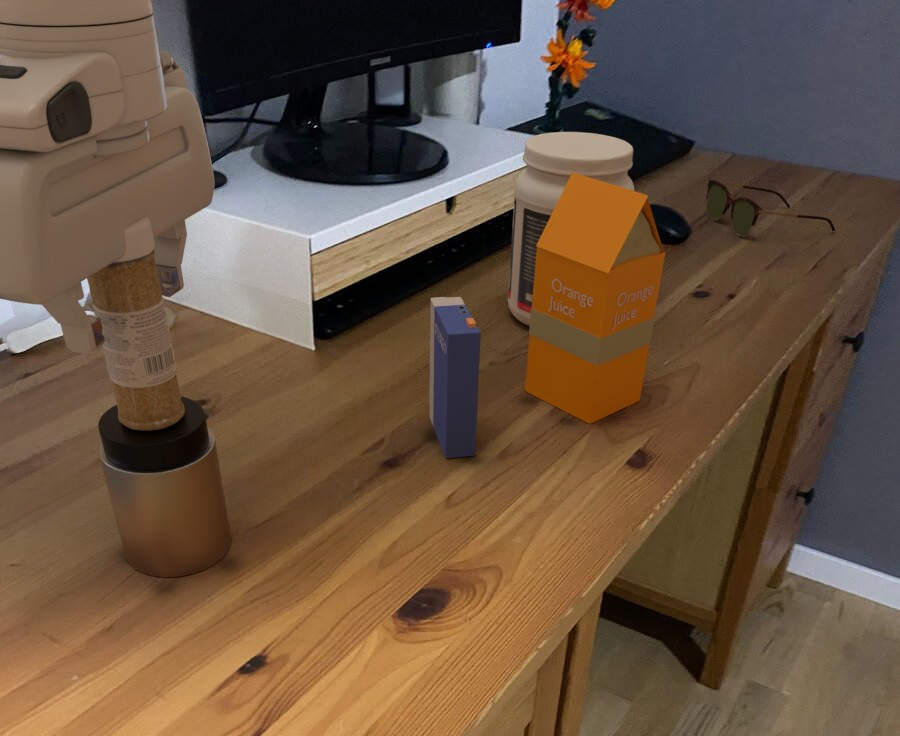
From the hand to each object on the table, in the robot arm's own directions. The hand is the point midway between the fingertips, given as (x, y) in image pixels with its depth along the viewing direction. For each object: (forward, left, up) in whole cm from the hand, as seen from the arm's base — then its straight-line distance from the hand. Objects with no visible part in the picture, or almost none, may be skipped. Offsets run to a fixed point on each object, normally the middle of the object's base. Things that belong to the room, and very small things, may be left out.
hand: (130, 319), depth 59 cm
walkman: (+15, +23, -18) cm, 33 cm away
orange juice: (+25, +35, -18) cm, 47 cm away
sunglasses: (+41, +98, -18) cm, 108 cm away
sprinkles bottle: (0, 0, -7) cm, 7 cm away
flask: (0, 0, -18) cm, 18 cm away
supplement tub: (+19, +54, -18) cm, 60 cm away
